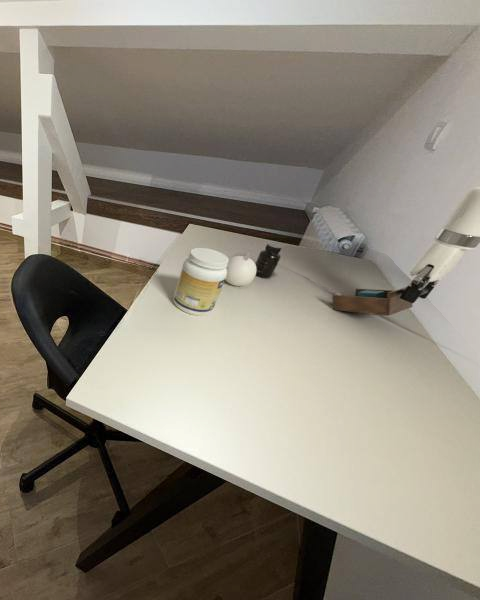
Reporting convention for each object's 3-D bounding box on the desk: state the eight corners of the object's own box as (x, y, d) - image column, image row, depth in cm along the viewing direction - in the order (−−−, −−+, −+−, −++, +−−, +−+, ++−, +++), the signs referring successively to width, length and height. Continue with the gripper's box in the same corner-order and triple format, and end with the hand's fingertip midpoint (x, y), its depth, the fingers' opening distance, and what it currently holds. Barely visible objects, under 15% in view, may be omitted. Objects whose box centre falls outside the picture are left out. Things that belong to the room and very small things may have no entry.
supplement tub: (214, 320, 90) (236, 268, 80) (172, 311, 91) (188, 260, 82) (210, 298, 100) (229, 250, 90) (171, 291, 101) (186, 242, 92)
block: (383, 305, 96) (384, 291, 95) (376, 308, 94) (376, 293, 94) (365, 303, 100) (366, 290, 99) (358, 306, 98) (358, 292, 98)
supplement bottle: (259, 269, 122) (272, 240, 115) (274, 277, 117) (289, 248, 110) (247, 271, 119) (260, 242, 112) (262, 280, 114) (277, 250, 107)
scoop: (434, 308, 90) (435, 284, 89) (410, 318, 84) (412, 292, 83) (356, 302, 106) (356, 282, 105) (332, 309, 101) (332, 288, 100)
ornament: (251, 294, 105) (266, 262, 98) (219, 287, 107) (232, 255, 100) (247, 280, 113) (260, 250, 106) (217, 274, 115) (229, 244, 108)
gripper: (452, 230, 85) (410, 287, 95) (423, 236, 78) (381, 297, 88) (491, 240, 79) (442, 299, 89) (463, 248, 73) (414, 311, 82)
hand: (412, 297), depth 88 cm, fingers closed on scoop, 6 cm apart
